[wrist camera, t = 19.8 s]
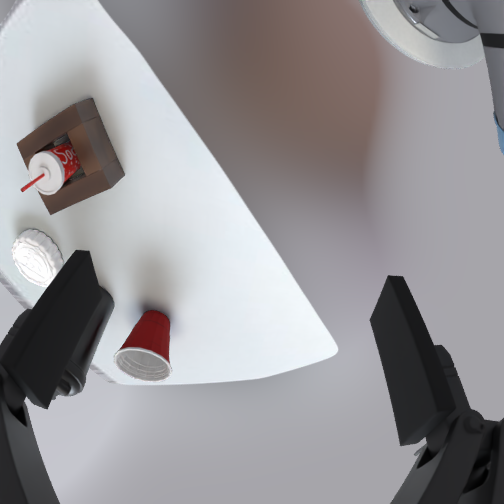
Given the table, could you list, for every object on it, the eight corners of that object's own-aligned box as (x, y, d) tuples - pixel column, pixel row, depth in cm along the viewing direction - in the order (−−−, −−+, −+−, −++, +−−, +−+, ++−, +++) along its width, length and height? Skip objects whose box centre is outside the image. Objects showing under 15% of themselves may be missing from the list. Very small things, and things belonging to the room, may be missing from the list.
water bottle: (66, 290, 57) (16, 376, 38) (92, 271, 53) (36, 367, 34) (99, 322, 61) (59, 409, 42) (127, 307, 58) (87, 406, 39)
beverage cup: (99, 162, 42) (48, 203, 30) (71, 176, 43) (20, 218, 31) (83, 127, 38) (25, 158, 27) (56, 144, 40) (-1, 178, 28)
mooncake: (68, 246, 50) (59, 258, 48) (60, 287, 56) (52, 298, 53) (21, 218, 47) (11, 227, 44) (18, 260, 53) (9, 270, 50)
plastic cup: (172, 344, 64) (160, 391, 54) (126, 323, 61) (108, 368, 51) (192, 316, 58) (180, 367, 48) (140, 292, 56) (120, 340, 46)
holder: (34, 134, 38) (16, 143, 34) (92, 97, 36) (74, 103, 32) (65, 201, 45) (50, 215, 41) (125, 175, 43) (111, 188, 39)
